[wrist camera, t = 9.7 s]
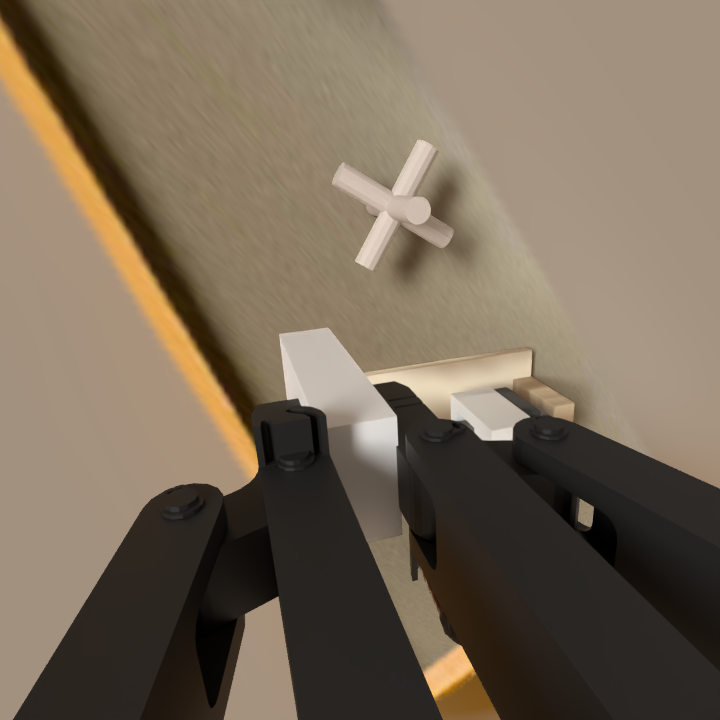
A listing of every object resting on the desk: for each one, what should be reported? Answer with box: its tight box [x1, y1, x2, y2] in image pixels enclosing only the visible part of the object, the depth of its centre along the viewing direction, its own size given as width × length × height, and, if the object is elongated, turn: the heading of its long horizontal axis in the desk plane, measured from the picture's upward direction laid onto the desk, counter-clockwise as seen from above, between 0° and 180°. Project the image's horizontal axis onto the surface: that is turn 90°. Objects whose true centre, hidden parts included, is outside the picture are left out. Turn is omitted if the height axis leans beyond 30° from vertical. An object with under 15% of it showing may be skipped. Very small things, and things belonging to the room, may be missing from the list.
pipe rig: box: [364, 347, 575, 432], centre depth 49 cm, size 10×20×8 cm, turn 93°
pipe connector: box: [332, 140, 454, 272], centre depth 40 cm, size 10×10×10 cm
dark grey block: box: [494, 387, 541, 417], centre depth 47 cm, size 6×2×6 cm, turn 3°
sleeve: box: [451, 387, 530, 441], centre depth 46 cm, size 6×4×8 cm, turn 3°
